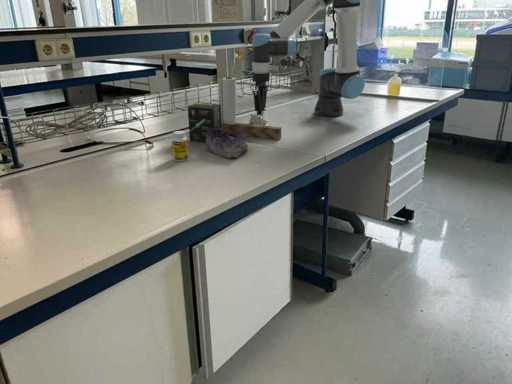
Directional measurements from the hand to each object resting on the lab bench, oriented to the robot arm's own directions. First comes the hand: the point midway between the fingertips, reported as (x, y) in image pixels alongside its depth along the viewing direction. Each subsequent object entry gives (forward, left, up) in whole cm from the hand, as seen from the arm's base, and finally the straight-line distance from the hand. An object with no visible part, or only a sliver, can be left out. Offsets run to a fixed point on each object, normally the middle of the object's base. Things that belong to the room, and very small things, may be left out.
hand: (260, 125), depth 190 cm
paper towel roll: (+17, -4, -2) cm, 18 cm away
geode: (+1, +36, -2) cm, 36 cm away
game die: (0, +5, -2) cm, 5 cm away
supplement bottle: (+12, +50, -2) cm, 51 cm away
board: (-1, +13, -2) cm, 13 cm away
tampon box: (+15, +24, -2) cm, 28 cm away
